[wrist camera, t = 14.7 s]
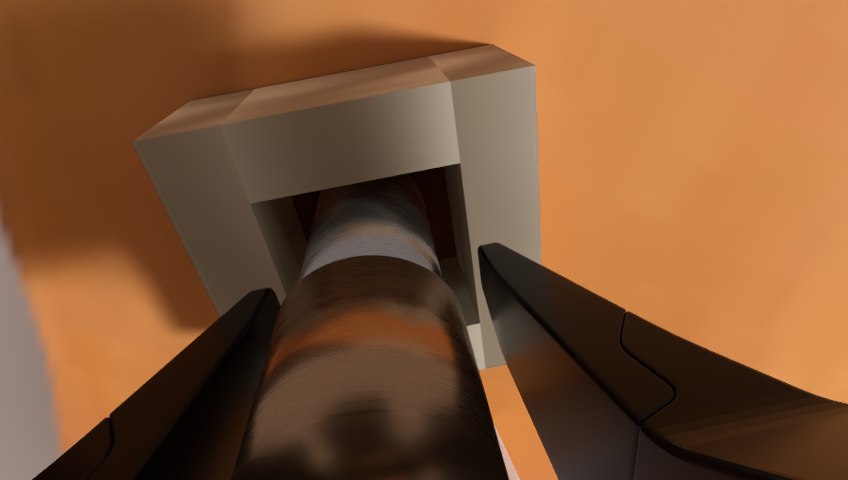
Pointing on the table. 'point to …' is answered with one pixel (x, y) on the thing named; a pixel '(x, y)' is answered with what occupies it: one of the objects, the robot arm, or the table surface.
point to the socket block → (353, 167)
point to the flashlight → (370, 356)
